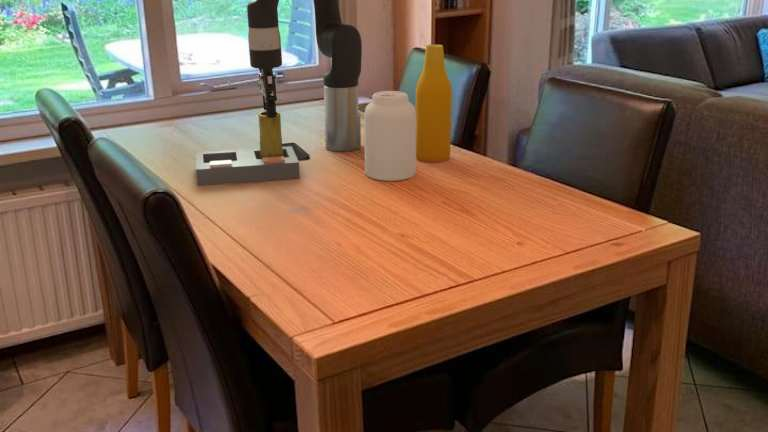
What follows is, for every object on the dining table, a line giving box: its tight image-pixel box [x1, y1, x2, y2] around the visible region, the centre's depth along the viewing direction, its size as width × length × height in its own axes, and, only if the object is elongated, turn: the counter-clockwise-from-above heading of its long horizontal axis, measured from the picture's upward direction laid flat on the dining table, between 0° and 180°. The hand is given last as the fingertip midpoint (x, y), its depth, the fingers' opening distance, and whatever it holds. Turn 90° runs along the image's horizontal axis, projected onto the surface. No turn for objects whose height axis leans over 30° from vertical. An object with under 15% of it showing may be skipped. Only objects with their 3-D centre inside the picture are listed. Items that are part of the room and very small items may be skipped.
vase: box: [258, 110, 283, 159], centre depth 189 cm, size 6×6×14 cm
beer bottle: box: [415, 44, 453, 164], centre depth 195 cm, size 9×9×29 cm
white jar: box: [363, 90, 417, 182], centre depth 184 cm, size 12×12×20 cm
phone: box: [282, 142, 311, 161], centre depth 205 cm, size 8×1×15 cm
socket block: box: [195, 146, 301, 187], centre depth 188 cm, size 24×15×5 cm, turn 103°
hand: (269, 113), depth 187 cm, fingers open, 8 cm apart
